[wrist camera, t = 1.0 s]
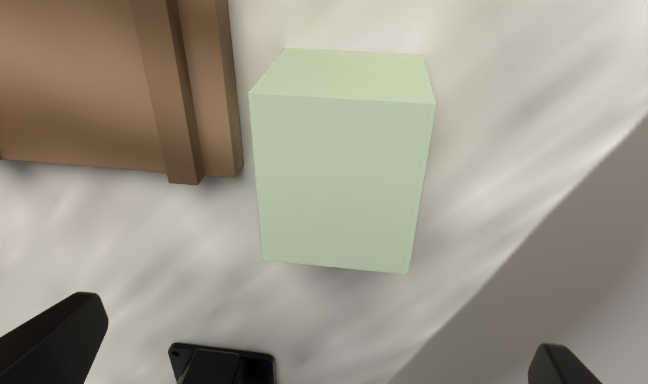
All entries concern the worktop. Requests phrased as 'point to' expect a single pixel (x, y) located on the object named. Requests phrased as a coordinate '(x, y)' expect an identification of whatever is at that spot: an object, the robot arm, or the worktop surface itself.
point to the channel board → (120, 86)
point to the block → (341, 156)
